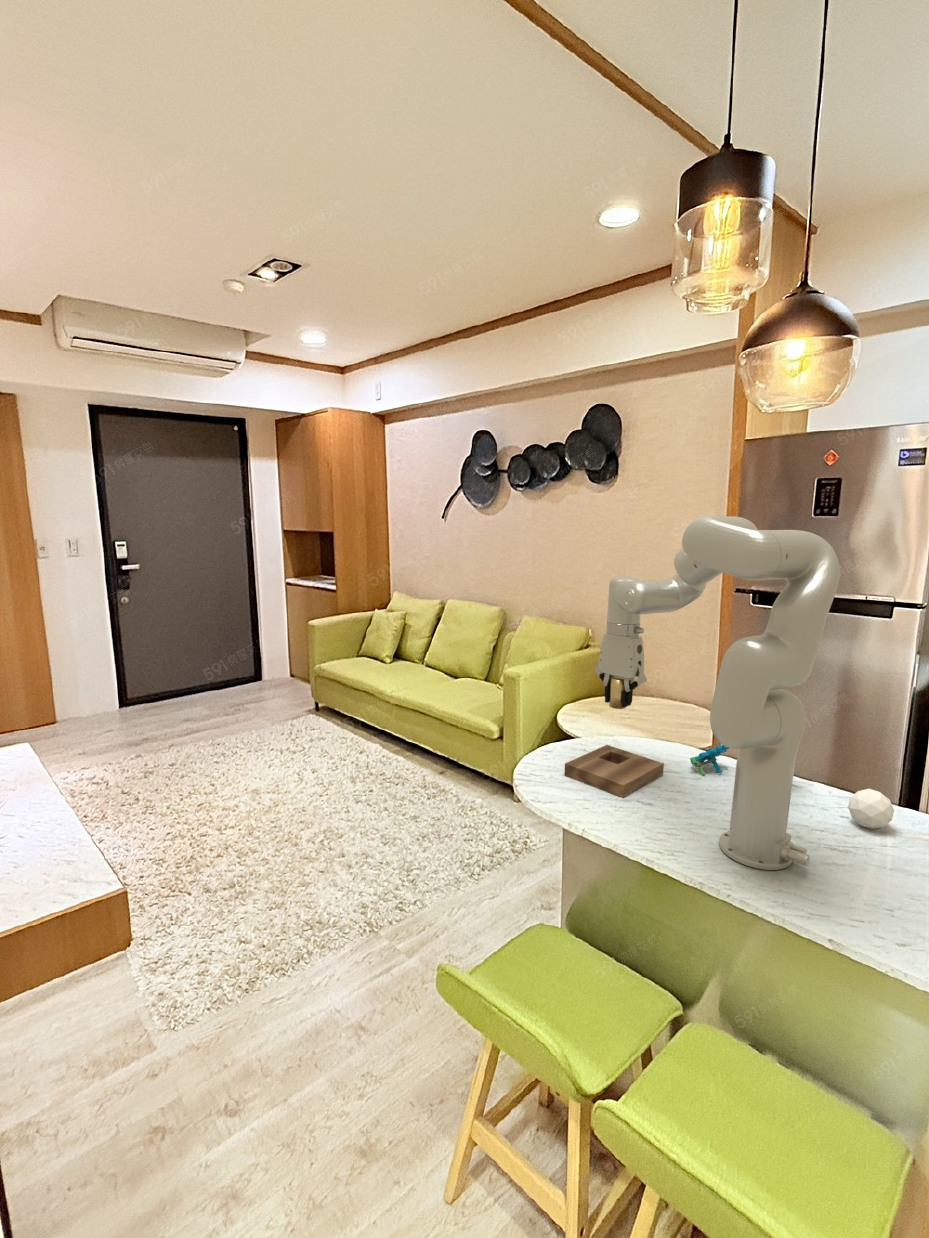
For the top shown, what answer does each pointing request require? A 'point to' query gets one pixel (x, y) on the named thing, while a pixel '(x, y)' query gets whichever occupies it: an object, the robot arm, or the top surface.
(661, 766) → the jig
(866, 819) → the geometric ball
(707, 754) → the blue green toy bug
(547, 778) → the top surface
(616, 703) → the brass cylinder
